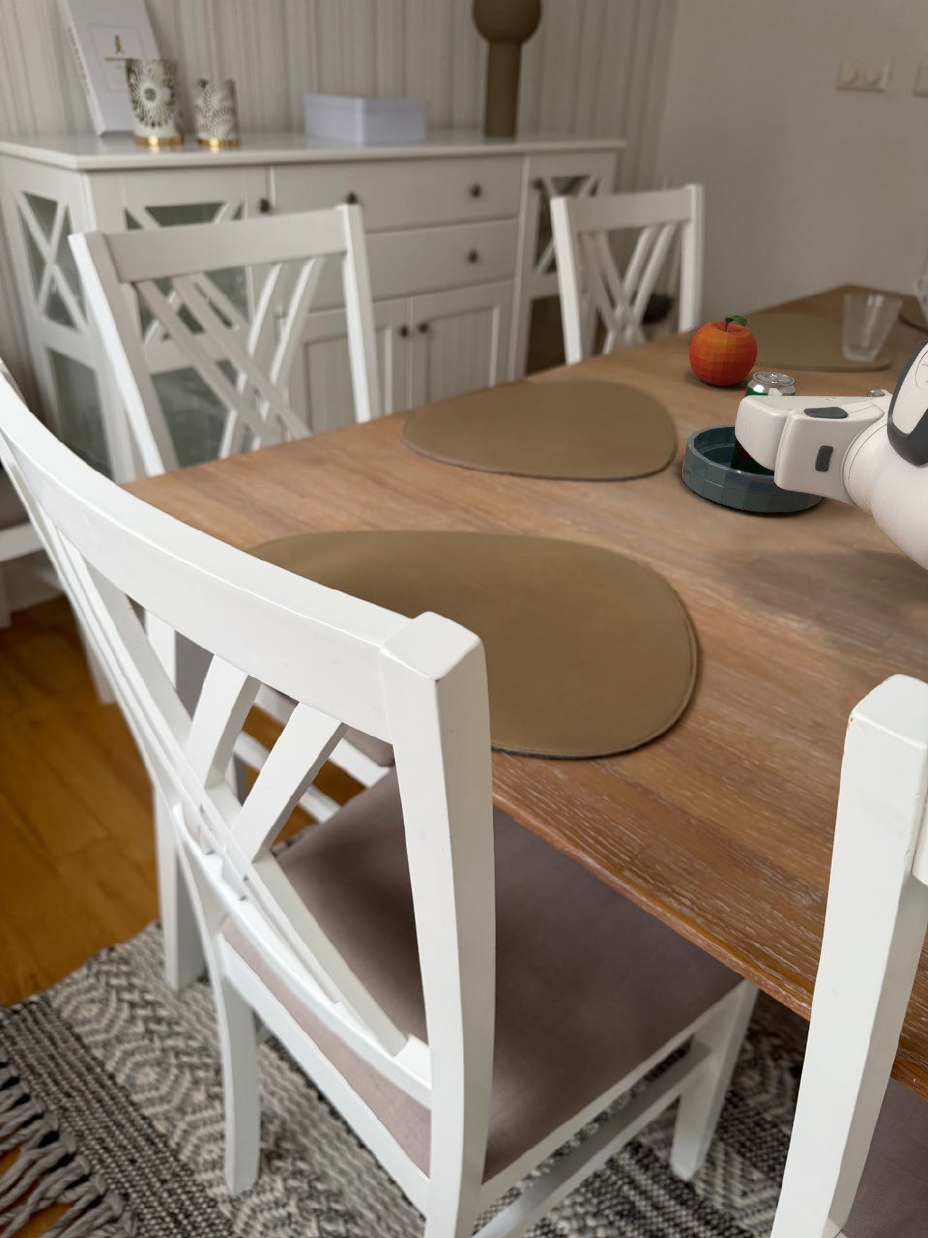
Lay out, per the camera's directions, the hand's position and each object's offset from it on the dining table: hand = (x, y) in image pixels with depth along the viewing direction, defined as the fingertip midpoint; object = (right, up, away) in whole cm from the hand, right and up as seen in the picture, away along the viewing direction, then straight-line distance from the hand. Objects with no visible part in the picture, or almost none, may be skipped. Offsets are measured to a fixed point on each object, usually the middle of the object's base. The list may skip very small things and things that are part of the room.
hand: (824, 396), depth 88 cm
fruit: (+3, +14, +50) cm, 52 cm away
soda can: (-2, -6, +18) cm, 19 cm away
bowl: (-2, -6, +18) cm, 19 cm away
